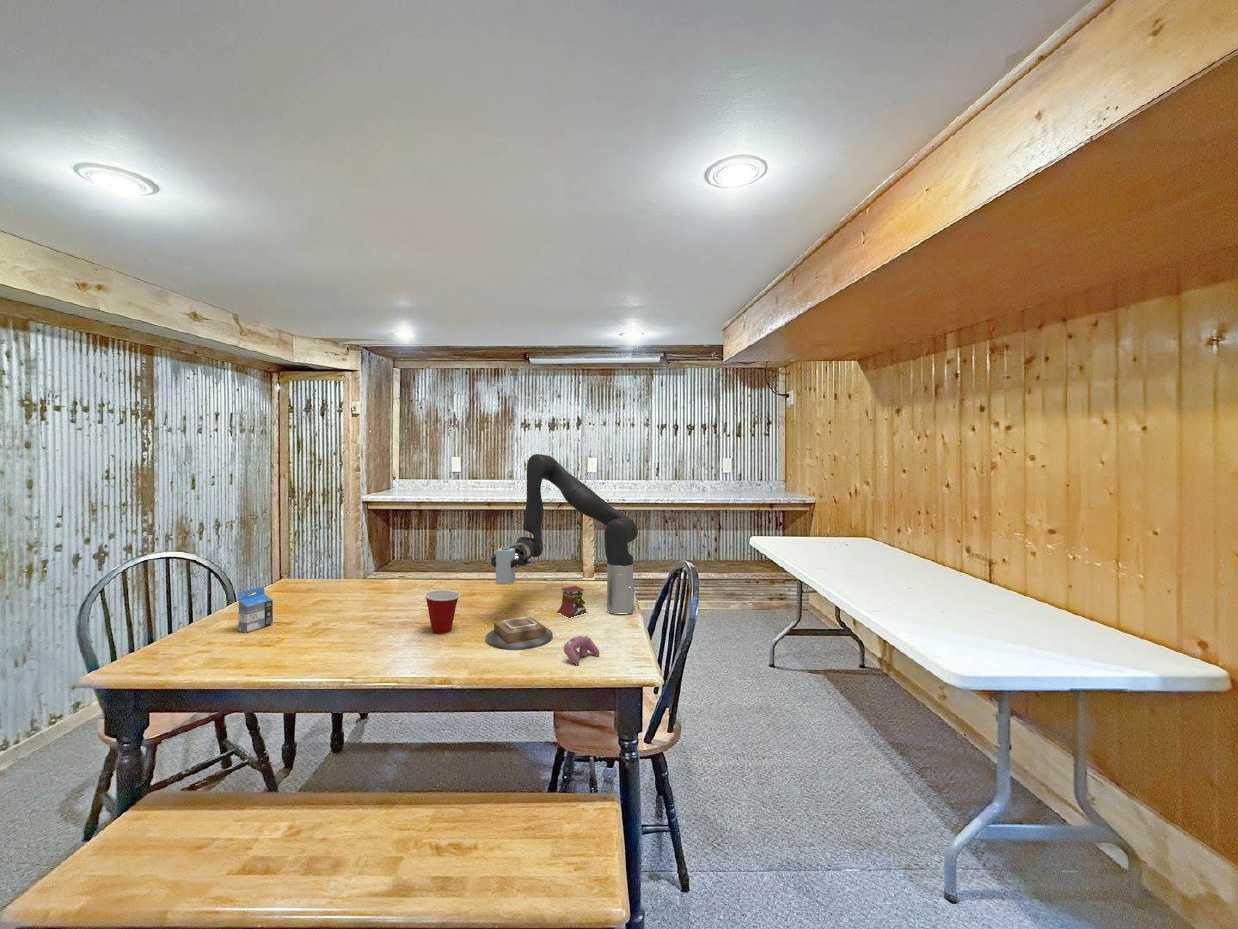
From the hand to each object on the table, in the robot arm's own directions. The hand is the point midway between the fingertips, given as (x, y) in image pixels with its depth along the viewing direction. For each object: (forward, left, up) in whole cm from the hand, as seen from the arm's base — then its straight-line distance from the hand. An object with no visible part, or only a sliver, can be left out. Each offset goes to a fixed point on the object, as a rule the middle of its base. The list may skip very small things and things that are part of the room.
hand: (503, 564), depth 181 cm
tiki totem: (-19, -16, -20) cm, 32 cm away
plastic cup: (+17, +9, -20) cm, 28 cm away
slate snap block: (0, -3, -7) cm, 7 cm away
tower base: (-9, +11, -20) cm, 25 cm away
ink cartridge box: (+76, +17, -20) cm, 80 cm away
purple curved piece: (-31, +24, -20) cm, 45 cm away
